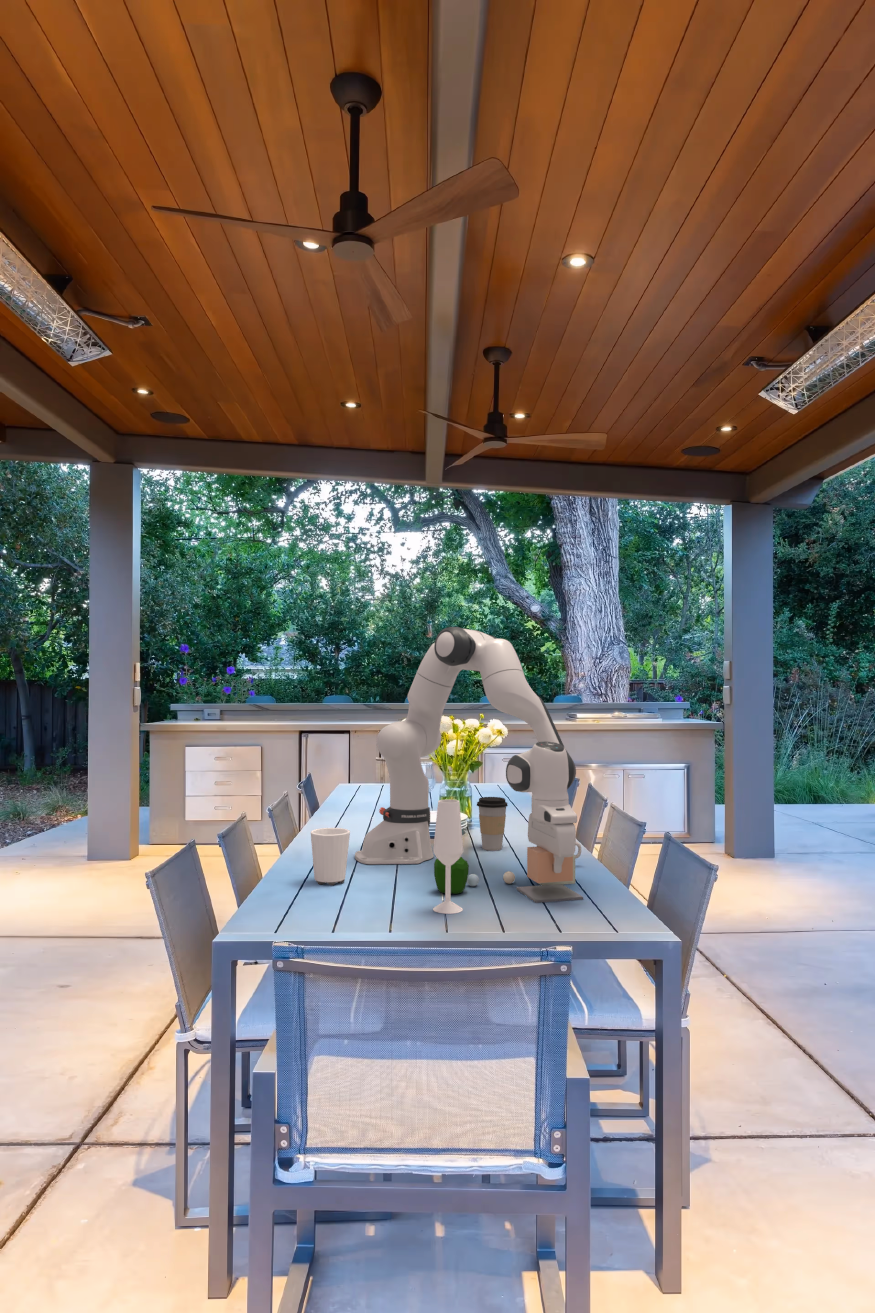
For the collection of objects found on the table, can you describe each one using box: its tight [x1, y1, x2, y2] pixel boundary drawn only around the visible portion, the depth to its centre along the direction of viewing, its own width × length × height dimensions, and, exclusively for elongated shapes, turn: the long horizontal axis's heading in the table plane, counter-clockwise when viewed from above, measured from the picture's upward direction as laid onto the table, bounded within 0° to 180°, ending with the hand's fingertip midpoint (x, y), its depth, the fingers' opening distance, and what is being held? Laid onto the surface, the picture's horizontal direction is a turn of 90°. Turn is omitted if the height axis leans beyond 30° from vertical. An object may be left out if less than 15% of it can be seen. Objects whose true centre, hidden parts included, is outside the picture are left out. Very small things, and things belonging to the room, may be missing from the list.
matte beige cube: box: [537, 854, 576, 886], centre depth 206 cm, size 9×6×7 cm
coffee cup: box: [476, 796, 509, 852], centre depth 245 cm, size 9×9×15 cm
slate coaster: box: [516, 884, 584, 904], centre depth 194 cm, size 12×12×1 cm
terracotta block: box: [526, 846, 573, 884], centre depth 194 cm, size 9×6×7 cm
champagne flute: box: [432, 799, 464, 915], centre depth 181 cm, size 7×7×24 cm
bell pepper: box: [433, 856, 470, 894], centre depth 196 cm, size 8×8×10 cm
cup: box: [310, 827, 351, 887], centre depth 204 cm, size 10×10×13 cm
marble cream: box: [502, 871, 516, 885], centre depth 204 cm, size 3×3×3 cm
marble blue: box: [466, 873, 480, 887], centre depth 201 cm, size 3×3×3 cm
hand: (550, 868), depth 194 cm, fingers closed on terracotta block, 6 cm apart
